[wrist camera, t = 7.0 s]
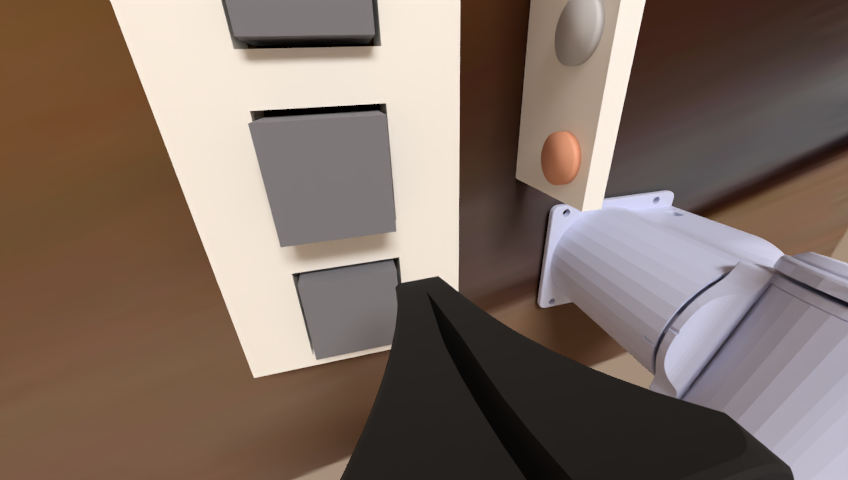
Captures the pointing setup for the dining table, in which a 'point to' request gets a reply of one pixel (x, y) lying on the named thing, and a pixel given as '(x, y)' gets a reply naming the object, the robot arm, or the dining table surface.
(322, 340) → the button cup side
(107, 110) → the dining table surface
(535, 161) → the card
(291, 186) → the button middle
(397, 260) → the button board
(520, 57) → the dining table surface
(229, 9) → the button mug side
